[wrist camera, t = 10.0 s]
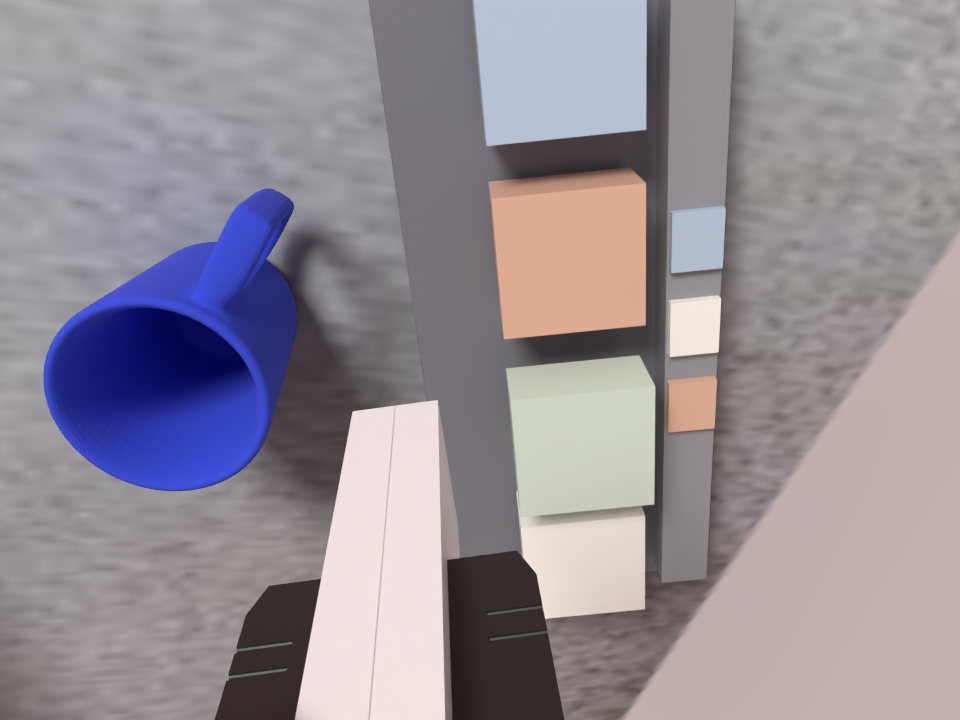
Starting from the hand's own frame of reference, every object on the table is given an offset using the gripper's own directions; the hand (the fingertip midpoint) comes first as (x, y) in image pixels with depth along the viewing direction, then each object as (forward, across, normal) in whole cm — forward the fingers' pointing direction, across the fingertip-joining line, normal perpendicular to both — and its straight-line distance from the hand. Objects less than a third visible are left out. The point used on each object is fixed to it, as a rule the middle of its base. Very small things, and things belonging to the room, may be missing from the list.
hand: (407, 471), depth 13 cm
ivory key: (+20, +6, -19) cm, 28 cm away
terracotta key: (+20, +6, -3) cm, 21 cm away
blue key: (+20, +6, +5) cm, 22 cm away
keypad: (+23, +6, -6) cm, 25 cm away
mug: (+24, -9, -3) cm, 25 cm away
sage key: (+18, +6, -11) cm, 22 cm away
